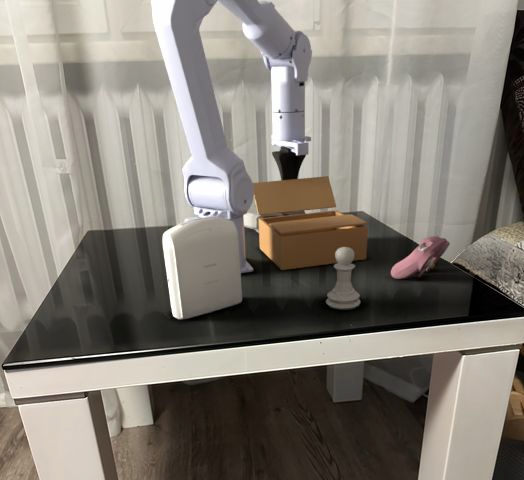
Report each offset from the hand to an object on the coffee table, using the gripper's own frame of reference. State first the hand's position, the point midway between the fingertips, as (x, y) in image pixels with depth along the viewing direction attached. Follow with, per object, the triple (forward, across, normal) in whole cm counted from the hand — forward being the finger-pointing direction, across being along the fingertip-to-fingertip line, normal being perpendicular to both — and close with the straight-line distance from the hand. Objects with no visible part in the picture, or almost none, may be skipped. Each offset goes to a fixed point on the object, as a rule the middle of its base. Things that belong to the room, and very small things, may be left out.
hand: (289, 191), depth 100 cm
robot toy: (+9, +8, +1) cm, 12 cm away
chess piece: (+8, -34, +4) cm, 36 cm away
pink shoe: (+9, -27, -12) cm, 31 cm away
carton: (+9, -11, 0) cm, 14 cm away
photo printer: (+8, -29, +22) cm, 38 cm away
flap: (0, -3, 0) cm, 3 cm away
